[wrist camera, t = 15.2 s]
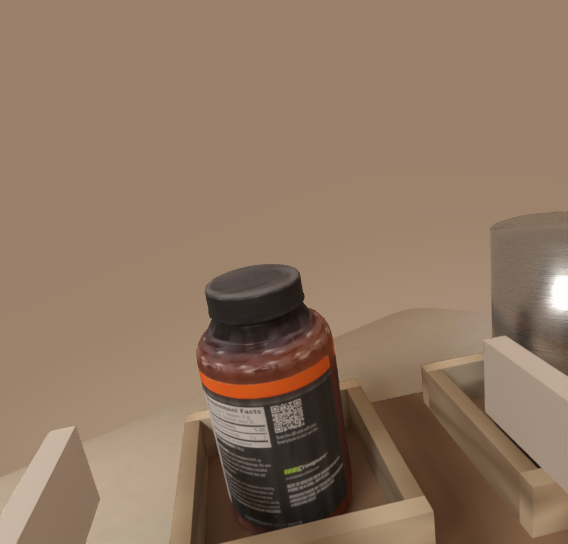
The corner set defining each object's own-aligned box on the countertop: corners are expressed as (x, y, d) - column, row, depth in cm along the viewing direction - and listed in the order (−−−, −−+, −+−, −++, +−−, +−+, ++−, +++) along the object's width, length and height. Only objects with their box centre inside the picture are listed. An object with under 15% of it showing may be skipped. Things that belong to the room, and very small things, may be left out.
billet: (544, 490, 20) (549, 253, 17) (471, 413, 26) (465, 226, 23) (665, 460, 21) (693, 225, 17) (568, 392, 26) (575, 205, 23)
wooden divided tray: (185, 679, 16) (162, 603, 15) (199, 456, 27) (187, 404, 26) (778, 524, 18) (794, 448, 17) (562, 377, 30) (564, 326, 29)
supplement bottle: (291, 439, 26) (259, 251, 23) (379, 486, 22) (355, 262, 18) (207, 506, 22) (154, 290, 19) (293, 578, 18) (244, 315, 15)
